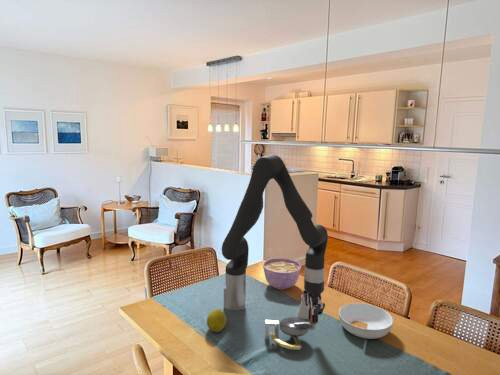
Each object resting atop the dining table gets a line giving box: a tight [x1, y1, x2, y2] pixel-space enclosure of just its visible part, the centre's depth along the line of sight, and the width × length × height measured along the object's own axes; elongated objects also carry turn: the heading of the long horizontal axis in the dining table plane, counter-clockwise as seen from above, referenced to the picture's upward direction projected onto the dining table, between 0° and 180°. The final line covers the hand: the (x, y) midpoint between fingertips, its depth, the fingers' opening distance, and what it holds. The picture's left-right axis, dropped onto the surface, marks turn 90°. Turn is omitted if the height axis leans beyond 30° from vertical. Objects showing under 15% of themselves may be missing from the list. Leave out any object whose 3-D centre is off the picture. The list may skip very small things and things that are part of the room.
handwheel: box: [269, 308, 317, 351], centre depth 128 cm, size 18×15×13 cm
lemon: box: [206, 308, 227, 333], centre depth 139 cm, size 11×8×8 cm
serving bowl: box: [338, 302, 394, 340], centre depth 139 cm, size 21×21×7 cm
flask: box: [296, 294, 310, 320], centre depth 148 cm, size 7×7×10 cm
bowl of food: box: [262, 257, 302, 290], centre depth 178 cm, size 20×20×12 cm
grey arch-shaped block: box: [264, 319, 280, 341], centre depth 131 cm, size 5×2×7 cm, turn 86°
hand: (313, 320), depth 131 cm, fingers closed on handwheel, 2 cm apart
